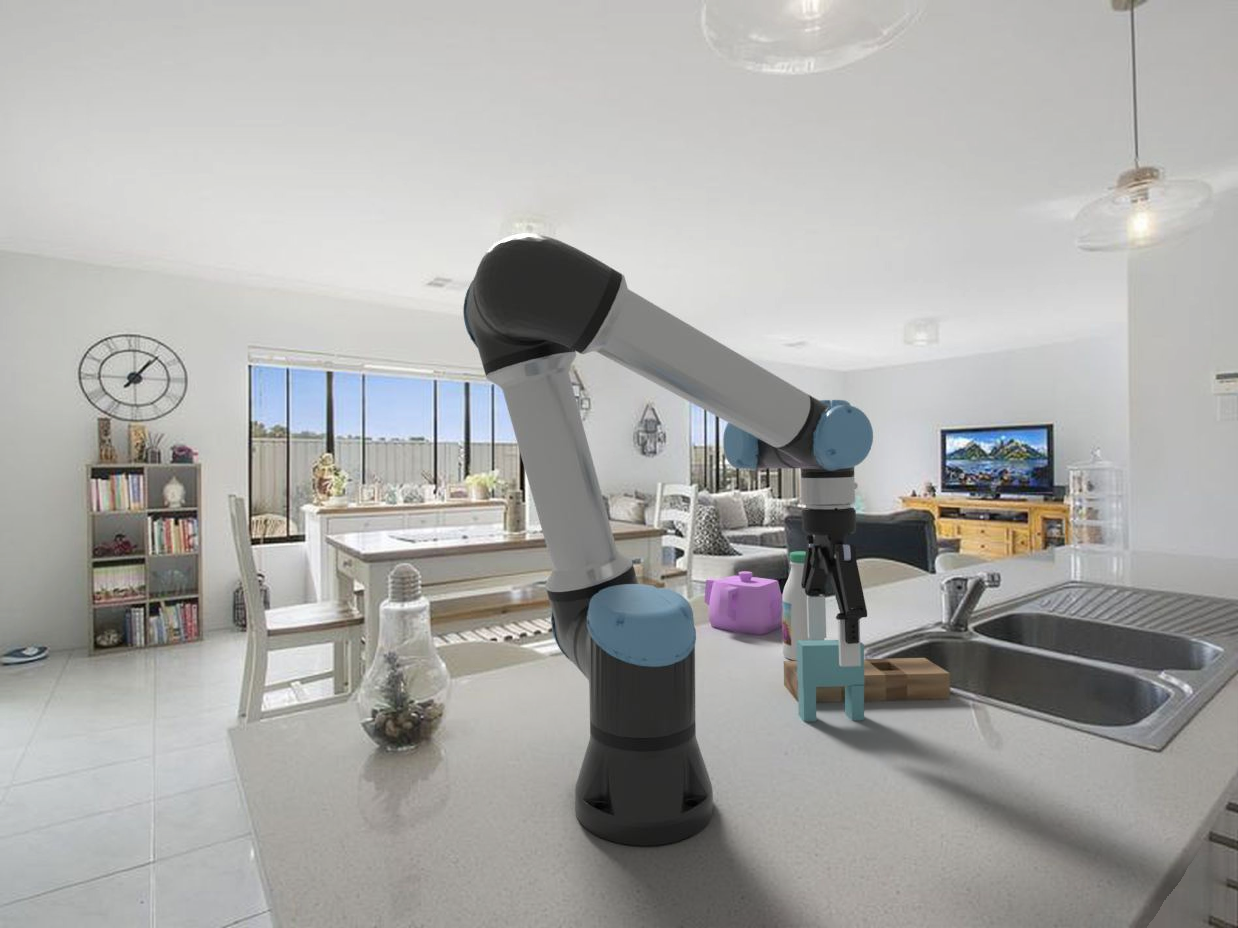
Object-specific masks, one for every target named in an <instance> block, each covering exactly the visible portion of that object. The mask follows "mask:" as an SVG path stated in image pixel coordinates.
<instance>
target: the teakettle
mask: <svg viewBox="0 0 1238 928" xmlns="http://www.w3.org/2000/svg"><path fill="white" fill-rule="evenodd" d="M753 575H754V573H753V572H752V571H747V570H746V571H738V575H730V576H727V577H723V578H709V579H705V590H704V601H703V602H704V603H706V605H708V620H709V623H710V626H711V627H713V628H715V627H717V628H716V629H720V630H724V631H729V632H735V633H741V634H749V635H756V636H757V635H758V636H761V635H765V634H768V633H771V632H772V631H774V630H777V629H778V628H780V627H782V598H783V592H781V588H780V584H779V581H778V580H777V579H770V578H765V577H764V578H763V577H755V576H753Z"/></svg>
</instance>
